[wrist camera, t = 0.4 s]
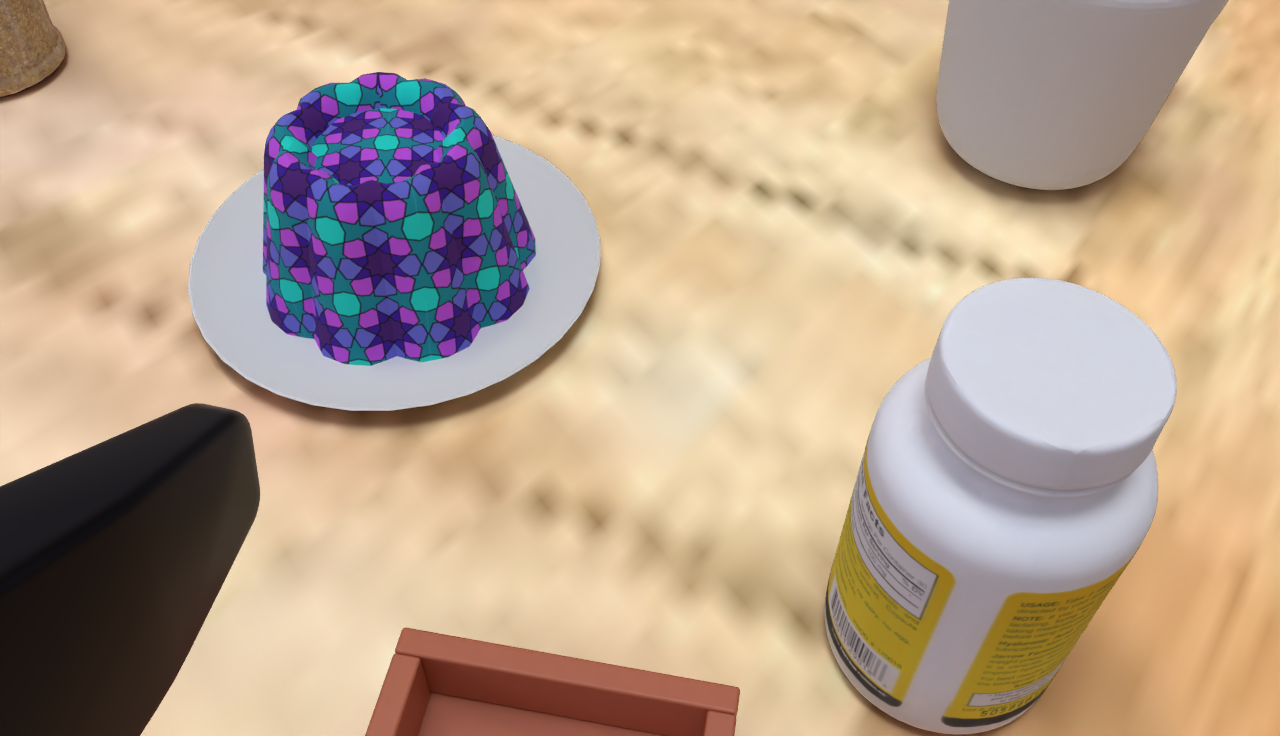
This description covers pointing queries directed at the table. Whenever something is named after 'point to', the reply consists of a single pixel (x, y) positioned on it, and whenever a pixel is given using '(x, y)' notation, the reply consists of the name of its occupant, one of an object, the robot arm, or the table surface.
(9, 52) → the sprinkles bottle
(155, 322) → the table surface
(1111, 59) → the cup
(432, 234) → the pudding
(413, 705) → the terracotta tray
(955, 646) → the supplement bottle
